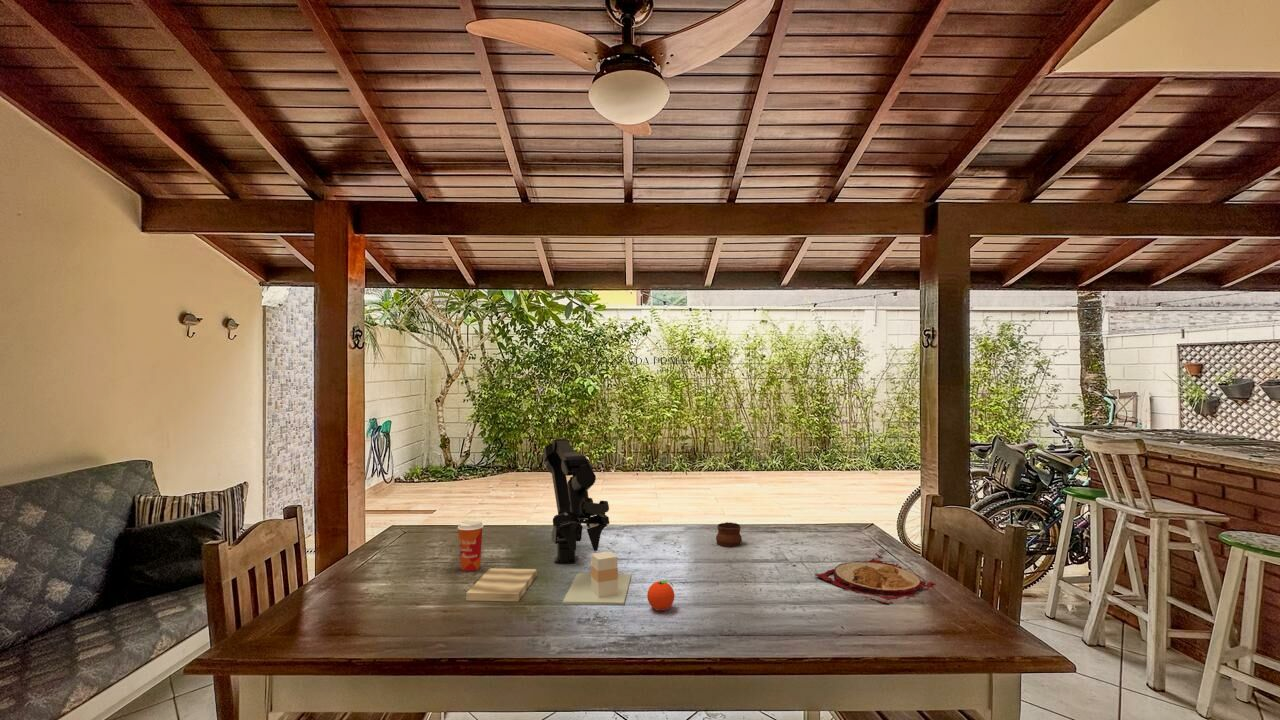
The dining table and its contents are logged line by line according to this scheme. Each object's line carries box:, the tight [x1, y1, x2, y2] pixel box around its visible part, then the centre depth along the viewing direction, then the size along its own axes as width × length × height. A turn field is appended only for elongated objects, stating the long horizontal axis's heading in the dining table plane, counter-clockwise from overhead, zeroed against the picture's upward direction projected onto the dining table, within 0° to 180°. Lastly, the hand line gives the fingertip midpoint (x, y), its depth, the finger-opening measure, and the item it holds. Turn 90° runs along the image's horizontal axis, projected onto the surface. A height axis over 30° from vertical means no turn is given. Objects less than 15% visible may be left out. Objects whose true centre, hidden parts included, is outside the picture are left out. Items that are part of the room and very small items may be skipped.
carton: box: [590, 550, 619, 598], centre depth 165 cm, size 6×6×10 cm
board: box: [465, 567, 538, 602], centre depth 171 cm, size 20×14×2 cm
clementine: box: [646, 580, 675, 611], centre depth 155 cm, size 8×7×7 cm
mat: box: [562, 572, 632, 606], centre depth 169 cm, size 22×16×1 cm
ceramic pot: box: [715, 521, 743, 548], centre depth 212 cm, size 18×18×7 cm
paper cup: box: [457, 519, 484, 572], centre depth 188 cm, size 8×8×14 cm
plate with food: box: [814, 553, 937, 605], centre depth 173 cm, size 25×26×4 cm
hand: (585, 550), depth 175 cm, fingers open, 9 cm apart
